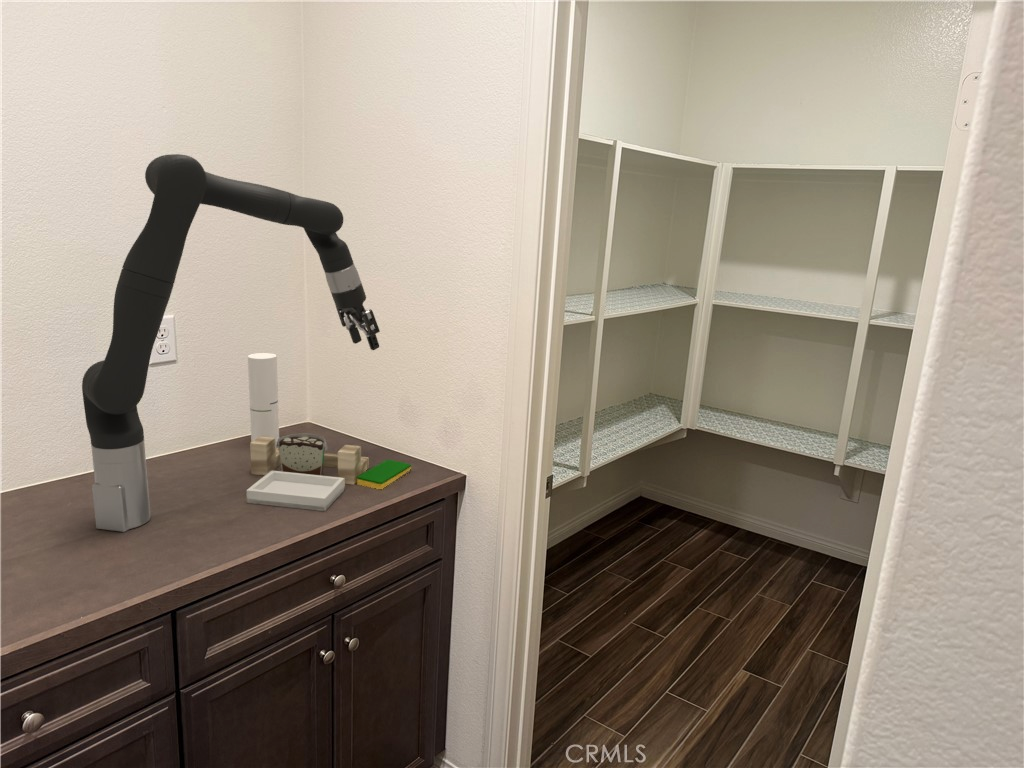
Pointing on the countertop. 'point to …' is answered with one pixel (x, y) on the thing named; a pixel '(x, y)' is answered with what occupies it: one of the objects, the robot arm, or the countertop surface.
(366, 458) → the holder
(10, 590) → the countertop surface
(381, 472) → the dish sponge
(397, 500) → the countertop surface
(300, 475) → the tray
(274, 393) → the cylindrical container
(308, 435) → the food container
